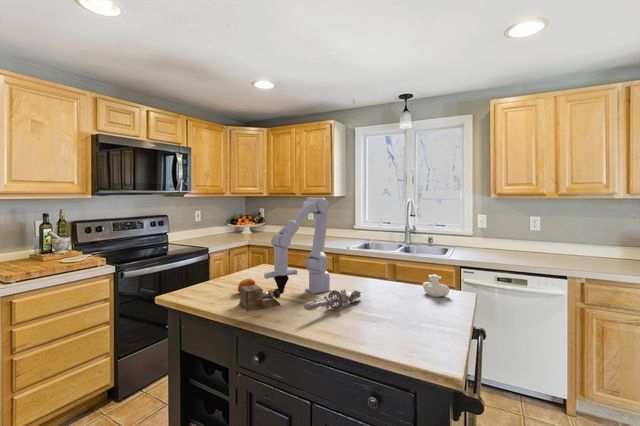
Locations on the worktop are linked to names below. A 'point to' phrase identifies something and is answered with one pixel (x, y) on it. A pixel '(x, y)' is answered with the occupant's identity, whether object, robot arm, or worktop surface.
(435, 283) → the white rounded figure
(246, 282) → the fruit
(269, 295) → the shaft
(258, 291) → the bearing housing
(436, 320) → the worktop surface
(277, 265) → the robot arm
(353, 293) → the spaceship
